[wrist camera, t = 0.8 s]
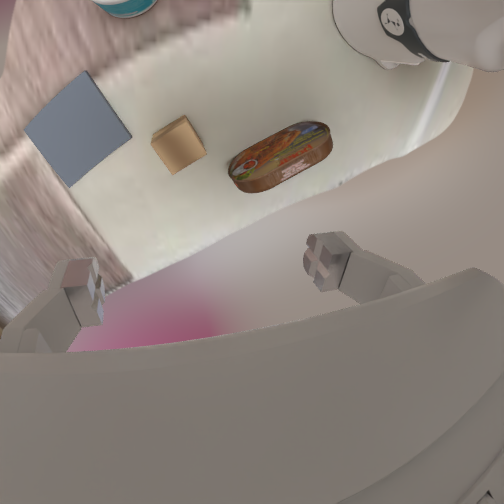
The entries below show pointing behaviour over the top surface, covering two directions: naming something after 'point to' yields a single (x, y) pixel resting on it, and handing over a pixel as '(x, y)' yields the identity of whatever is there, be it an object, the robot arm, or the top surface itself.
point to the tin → (281, 156)
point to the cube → (178, 145)
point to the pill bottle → (125, 7)
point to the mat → (77, 129)
